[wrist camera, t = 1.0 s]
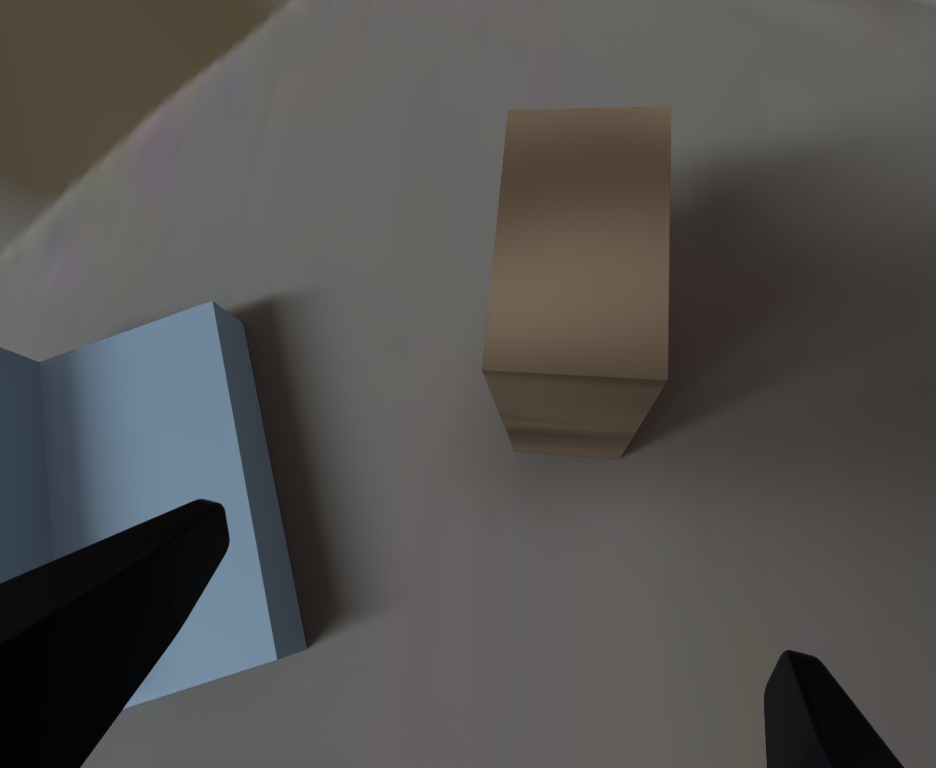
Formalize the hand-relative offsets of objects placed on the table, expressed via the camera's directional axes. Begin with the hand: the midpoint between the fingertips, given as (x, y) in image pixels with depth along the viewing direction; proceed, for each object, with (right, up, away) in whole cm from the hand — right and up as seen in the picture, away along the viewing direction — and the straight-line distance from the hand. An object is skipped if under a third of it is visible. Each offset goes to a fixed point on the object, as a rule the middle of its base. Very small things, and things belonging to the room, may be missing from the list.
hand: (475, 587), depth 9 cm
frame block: (+4, +4, +14) cm, 16 cm away
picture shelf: (-12, -2, +15) cm, 20 cm away
